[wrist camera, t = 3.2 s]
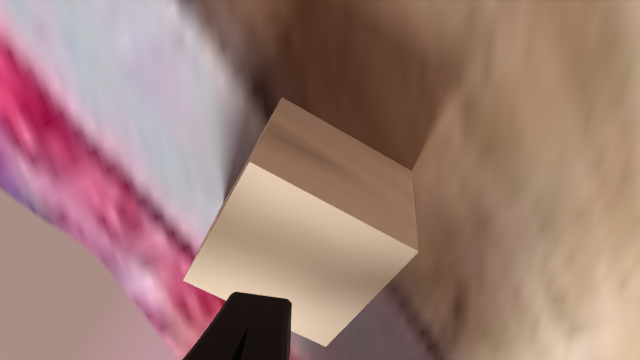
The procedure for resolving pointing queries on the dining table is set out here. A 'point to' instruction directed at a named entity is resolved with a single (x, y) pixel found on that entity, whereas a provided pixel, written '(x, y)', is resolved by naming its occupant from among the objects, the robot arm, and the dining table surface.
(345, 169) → the ash block
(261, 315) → the robot arm
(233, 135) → the dining table surface
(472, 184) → the dining table surface
